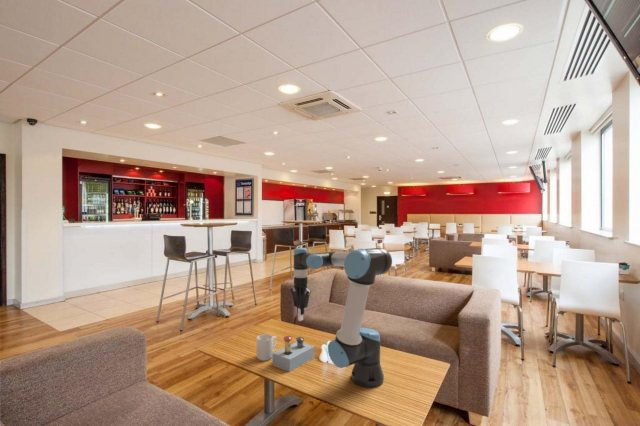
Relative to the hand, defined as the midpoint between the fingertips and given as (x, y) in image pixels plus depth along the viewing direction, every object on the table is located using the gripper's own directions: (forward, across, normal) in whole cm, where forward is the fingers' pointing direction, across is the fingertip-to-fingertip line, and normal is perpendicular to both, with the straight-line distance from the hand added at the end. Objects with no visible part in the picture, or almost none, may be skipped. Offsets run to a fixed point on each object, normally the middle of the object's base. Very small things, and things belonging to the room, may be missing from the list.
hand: (300, 320), depth 173 cm
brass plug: (+16, 0, +10) cm, 18 cm away
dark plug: (+19, 0, 0) cm, 19 cm away
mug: (+21, +16, +10) cm, 28 cm away
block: (+20, +1, +5) cm, 21 cm away
